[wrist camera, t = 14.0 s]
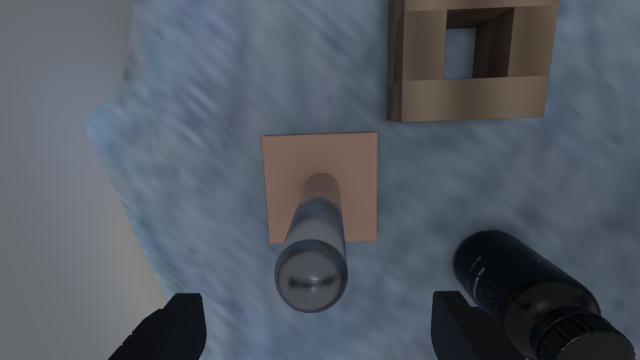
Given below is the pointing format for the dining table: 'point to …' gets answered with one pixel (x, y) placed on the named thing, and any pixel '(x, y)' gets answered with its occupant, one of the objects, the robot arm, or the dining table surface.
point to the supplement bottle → (536, 302)
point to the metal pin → (314, 249)
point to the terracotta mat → (322, 157)
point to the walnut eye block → (489, 61)
